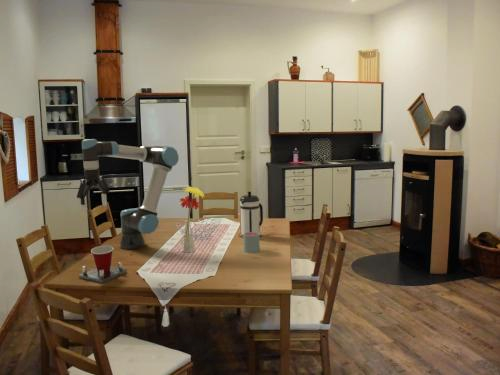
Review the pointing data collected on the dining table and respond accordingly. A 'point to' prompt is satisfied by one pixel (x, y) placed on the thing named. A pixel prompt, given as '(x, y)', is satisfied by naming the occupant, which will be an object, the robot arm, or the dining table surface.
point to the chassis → (102, 273)
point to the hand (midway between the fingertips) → (95, 208)
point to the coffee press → (250, 214)
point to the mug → (251, 242)
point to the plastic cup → (102, 257)
